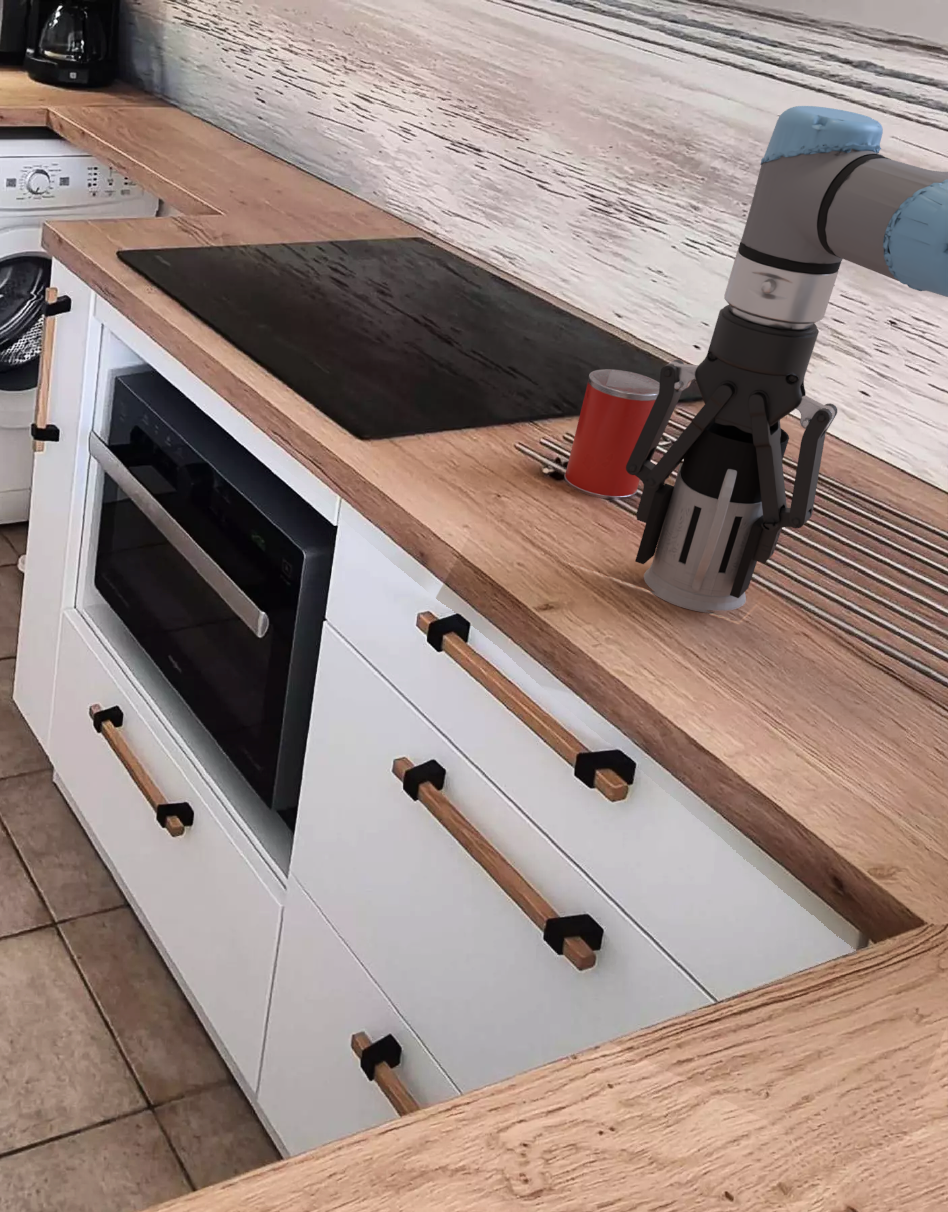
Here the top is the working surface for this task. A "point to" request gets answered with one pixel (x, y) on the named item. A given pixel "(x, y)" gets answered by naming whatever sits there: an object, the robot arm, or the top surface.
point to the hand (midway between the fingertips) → (691, 574)
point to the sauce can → (609, 433)
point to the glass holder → (709, 521)
